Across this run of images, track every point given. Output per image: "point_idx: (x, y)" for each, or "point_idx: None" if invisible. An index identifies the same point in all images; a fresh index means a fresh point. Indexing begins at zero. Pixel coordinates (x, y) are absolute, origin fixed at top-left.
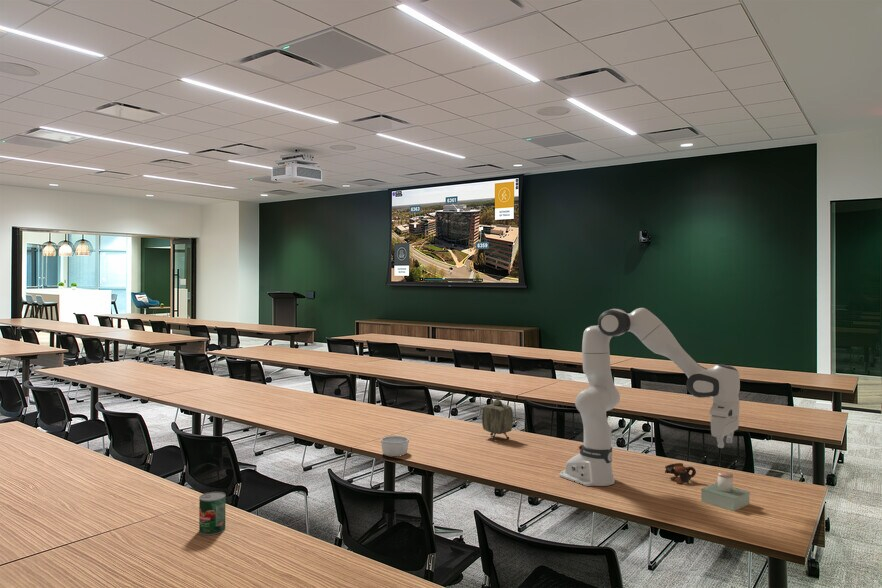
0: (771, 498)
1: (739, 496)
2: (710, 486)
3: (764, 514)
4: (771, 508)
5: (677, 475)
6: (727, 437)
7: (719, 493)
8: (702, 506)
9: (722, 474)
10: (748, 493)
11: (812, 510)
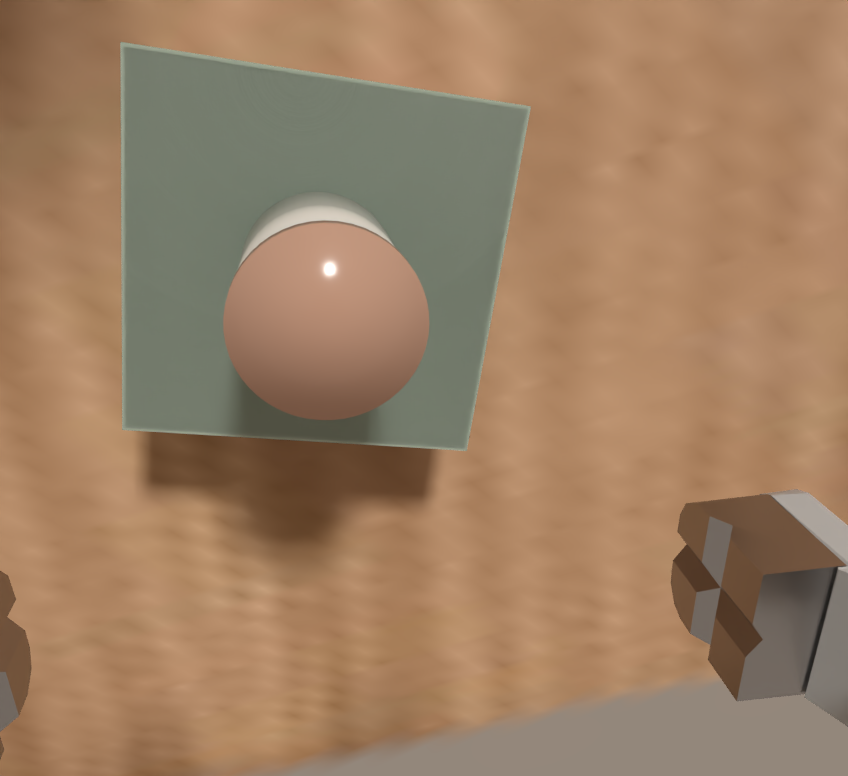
0: (699, 463)
1: (244, 435)
2: (314, 98)
3: (285, 548)
4: (462, 535)
5: None
6: (837, 592)
7: (144, 272)
8: (3, 123)
9: (260, 313)
10: (433, 443)
11: (616, 692)
